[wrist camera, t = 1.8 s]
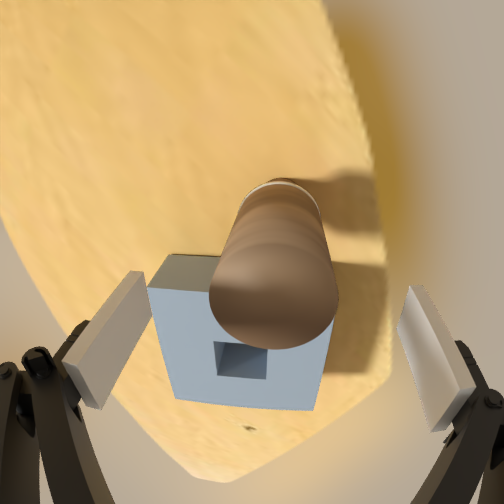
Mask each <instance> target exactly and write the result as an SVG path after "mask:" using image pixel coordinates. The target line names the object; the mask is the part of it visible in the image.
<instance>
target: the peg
mask: <svg viewBox="0 0 504 504" xmlns="http://www.w3.org/2000/svg"><path fill="white" fill-rule="evenodd" d="M338 300H339V297H338V289H337V284H336V280H335V275H334V271H333V267H332V262H331V258H330V254H329V250H328V246H327V242H326V238H325V234H324V230H323V226H322V222H321V215H320V211H319V208H318V206H317V203H316V202H315V200H314V198H313V197H312V196H311V195H310V194H309V193H308V192H307V191H306V190H305V189H303V188H302V187H300V186H298V185H296V184H295V183H294V182H293V181H291V180H288V179H285V178H276V179H272V180H270V181H268V182H267V183H264V184H262V185H259V186H258V187H256V188H254V189H253V190H252V191H251V192H249V193H248V195H247V196H246V197H245V198H244V200H243V201H242V203H241V206H240V208H239V211H238V215H237V217H236V220H235V222H234V225H233V227H232V230H231V232H230V235H229V237H228V240H227V242H226V245H225V247H224V250H223V252H222V255H221V257H220V260H219V262H218V265H217V267H216V270H215V272H214V275H213V277H212V280H211V283H210V287H209V303H210V308H211V311H212V313H213V315H214V317H215V319H216V321H217V322H218V323H219V325H220V326H221V327H222V328H223V329H224V330H225V331H226V332H227V333H228V334H229V335H231V336H232V337H234V338H235V339H237V340H239V341H241V342H243V343H245V344H247V345H250V346H253V347H257V348H262V349H270V350H280V349H289V348H294V347H297V346H301V345H303V344H306V343H308V342H310V341H312V340H313V339H315V338H316V337H318V336H319V335H320V334H321V333H323V332H324V331H325V330H326V329H327V327H328V326H329V325H330V323H331V322H332V320H333V319H334V316H335V314H336V311H337V308H338Z"/></svg>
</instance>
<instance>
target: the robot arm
mask: <svg viewBox="0 0 504 504" xmlns="http://www.w3.org/2000/svg"><path fill="white" fill-rule="evenodd" d="M151 317H152V311H151V307H150V302H149V297H148V293H147V288H146V283H145V277H144V272H139V271H130V272H129V273H128V274H127V275H126V277H125V278H124V279H123V280H122V281H121V283H120V284H119V285H118V286H117V288H116V289H115V290H114V291H113V293H112V294H111V295H110V296H109V298H108V299H107V300H106V302H105V303H104V304H103V305H102V307H101V308H100V309H99V311H98V312H97V313H96V314H95V316H94V317H93V318H92V320H91V321H88V320H85V321H83V322H82V323H80V324H79V325H77V326H76V327H75V329H74V330H73V331H72V333H71V335H69V337H68V338H67V339H66V341H65V342H64V343H63V345H62V346H61V347H60V349H59V350H58V351H57V353H56V354H55V356H54V357H53V358H52V357H51V355H50V353H49V351H48V349H46V348H45V347H40V346H39V347H34V348H32V349H29V350H28V351H27V352H26V353H25V354H24V356H23V357H22V361H21V362H22V364H23V366H24V368H25V369H26V371H19V370H18V368H17V366H16V365H15V364H14V363H13V362H5V363H2V364H1V365H0V504H40V491H39V458H40V456H39V455H40V452H41V457H42V461H43V465H44V469H45V474H46V478H47V481H48V485H49V489H50V492H51V496H52V499H53V502H54V504H115V502H114V500H113V498H112V496H111V493H110V491H109V489H108V486H107V484H106V481H105V479H104V477H103V474H102V472H101V469H100V466H99V464H98V461H97V458H96V456H95V453H94V450H93V447H92V444H91V441H90V439H89V435H88V432H87V429H86V426H85V422H84V419H83V416H82V412H81V409H80V407H79V405H78V403H79V401H80V399H81V398H82V400H83V401H84V403H85V405H86V406H88V407H91V408H94V409H98V410H102V408H103V406H104V404H105V402H106V400H107V398H108V396H109V394H110V392H111V390H112V389H113V387H114V385H115V383H116V381H117V379H118V377H119V375H120V373H121V371H122V370H123V368H124V366H125V364H126V362H127V360H128V358H129V357H130V355H131V353H132V351H133V349H134V348H135V346H136V344H137V342H138V340H139V338H140V337H141V335H142V333H143V331H144V330H145V328H146V326H147V324H148V322H149V321H150V319H151ZM396 329H397V332H398V334H399V337H400V340H401V343H402V345H403V348H404V351H405V354H406V357H407V360H408V363H409V366H410V369H411V372H412V375H413V378H414V380H415V384H416V387H417V390H418V393H419V397H420V400H421V403H422V406H423V410H424V413H425V417H426V420H427V424H428V427H429V431H430V432H436V431H442V430H446V429H447V427H448V426H449V425H450V423H451V422H452V423H453V426H454V430H453V431H452V432H451V433H450V434H449V436H448V437H447V438H446V439H445V440H444V442H443V443H446V444H445V446H444V448H443V450H442V451H441V453H440V455H439V457H438V459H437V461H436V463H435V465H434V466H433V468H432V470H431V471H430V473H429V475H428V477H427V478H426V480H425V482H424V483H423V485H422V486H421V488H420V490H419V491H418V493H417V494H416V496H415V498H414V499H413V501H412V502H411V504H469V503H470V501H471V499H472V497H473V495H474V492H475V490H476V488H477V486H478V483H479V481H480V479H481V476H482V474H483V479H482V484H481V490H480V494H479V499H478V504H504V398H503V396H502V395H501V394H500V393H499V392H497V391H496V390H493V389H489V387H488V385H487V383H486V381H485V379H484V377H483V375H482V373H481V371H480V369H479V367H478V365H476V361H475V359H474V358H473V355H472V353H471V351H470V350H469V348H468V347H467V346H466V345H465V344H464V343H463V342H462V341H460V340H459V341H454V340H453V338H452V336H451V334H450V332H449V330H448V328H447V326H446V325H445V323H444V321H443V319H442V317H441V315H440V314H439V312H438V310H437V308H436V307H435V305H434V303H433V301H432V300H431V298H430V296H429V295H428V293H427V291H426V290H425V288H424V286H423V285H410V286H409V290H408V293H407V297H406V300H405V303H404V307H403V310H402V313H401V316H400V320H399V322H398V325H397V328H396ZM483 472H484V473H483Z"/></svg>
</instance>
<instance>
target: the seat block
mask: <svg viewBox="0 0 504 504" xmlns="http://www.w3.org/2000/svg"><path fill="white" fill-rule="evenodd" d="M219 260H220V257H206V256H186V255H168V256H167V258H166V259H165V261H164V262H163V264H162V265H161V267H160V268H159V270H158V271H157V273H156V274H155V276H154V277H153V279H152V280H151V282H150V283H149V285H148V286H147V291H148V296H149V300H150V305H151V309H152V314H153V318H154V322H155V326H156V331H157V335H158V339H159V343H160V346H161V350H162V354H163V358H164V361H165V365H166V369H167V372H168V376H169V379H170V383H171V386H172V389H173V393H174V396H175V399H181V400H187V401H194V402H201V403H209V404H217V405H226V406H236V407H247V408H259V409H276V410H302V411H313V409H314V406H315V402H316V398H317V394H318V390H319V386H320V382H321V377H322V373H323V369H324V365H325V360H326V356H327V351H328V346H329V342H330V337H331V332H332V327H333V322H334V319H333V320H332V322H331V323H330V325H329V326H328V327H327V329H326V330H325V331H324V332H323V333H321V334H320V335H319V336H318V337H316V338H315V339H313V340H312V341H310V342H308V343H306V344H303V345H301V346H297V347H294V348H289V349H280V350H270V349H262V348H257V347H253V346H250V345H247V344H245V343H243V342H241V341H239V340H237V339H235V338H234V337H232V336H231V335H229V334H228V333H227V332H226V331H225V330H224V329H223V328H222V327H221V326H220V325H219V323H218V322H217V321H216V319H215V317H214V315H213V313H212V311H211V308H210V303H209V287H210V283H211V280H212V277H213V275H214V272H215V270H216V267H217V265H218V262H219ZM334 317H335V316H334Z"/></svg>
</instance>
